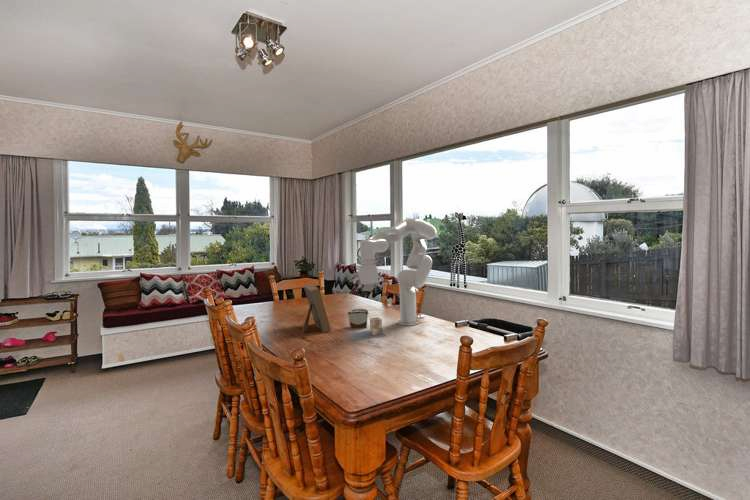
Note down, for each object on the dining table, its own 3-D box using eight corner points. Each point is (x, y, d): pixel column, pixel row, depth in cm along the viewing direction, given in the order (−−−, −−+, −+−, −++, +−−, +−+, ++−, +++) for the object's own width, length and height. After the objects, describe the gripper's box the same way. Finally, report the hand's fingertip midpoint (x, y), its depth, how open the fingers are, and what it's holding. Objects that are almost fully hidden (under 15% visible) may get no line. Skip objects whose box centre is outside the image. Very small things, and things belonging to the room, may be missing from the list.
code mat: (378, 329, 214) (378, 329, 214) (388, 336, 201) (388, 336, 201) (344, 334, 208) (344, 333, 208) (351, 341, 195) (351, 341, 195)
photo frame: (321, 322, 234) (319, 282, 232) (331, 331, 214) (328, 287, 212) (297, 326, 229) (294, 284, 227) (304, 335, 208) (302, 290, 207)
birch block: (379, 331, 210) (378, 317, 209) (382, 334, 205) (381, 319, 204) (370, 332, 208) (369, 318, 207) (373, 335, 203) (373, 320, 203)
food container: (370, 325, 225) (369, 308, 224) (369, 328, 218) (368, 310, 218) (349, 325, 226) (349, 308, 225) (347, 328, 220) (347, 311, 219)
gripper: (382, 261, 210) (383, 292, 211) (350, 263, 207) (352, 294, 208) (385, 262, 203) (386, 294, 204) (352, 264, 199) (354, 297, 200)
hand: (369, 294), depth 206 cm, fingers open, 9 cm apart
